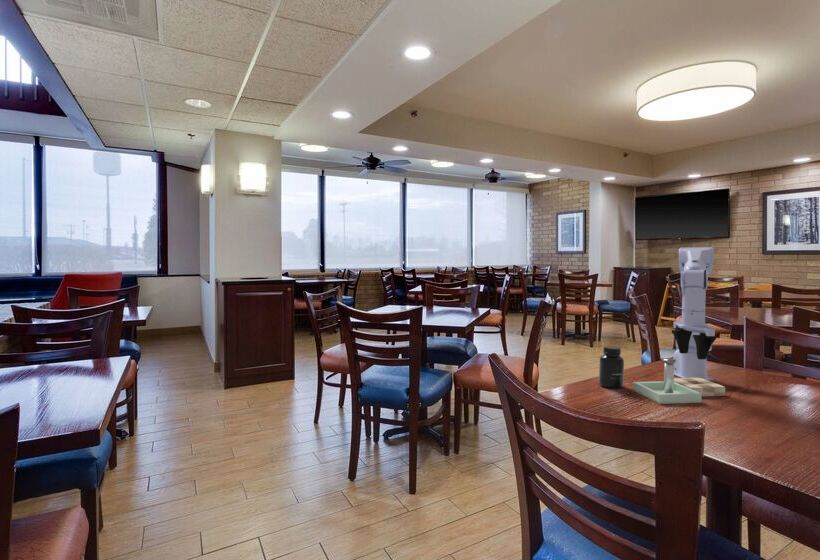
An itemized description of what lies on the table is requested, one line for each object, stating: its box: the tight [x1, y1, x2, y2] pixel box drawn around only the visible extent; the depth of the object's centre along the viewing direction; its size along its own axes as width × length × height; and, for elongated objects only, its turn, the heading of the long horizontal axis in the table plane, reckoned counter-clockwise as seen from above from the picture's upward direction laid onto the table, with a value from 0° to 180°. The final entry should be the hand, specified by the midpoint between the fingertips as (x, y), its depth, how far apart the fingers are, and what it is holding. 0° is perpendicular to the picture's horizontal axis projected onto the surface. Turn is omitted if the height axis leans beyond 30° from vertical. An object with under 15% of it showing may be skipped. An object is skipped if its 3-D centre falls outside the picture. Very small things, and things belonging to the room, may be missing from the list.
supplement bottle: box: [598, 345, 625, 389], centre depth 133 cm, size 7×7×12 cm
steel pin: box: [662, 357, 676, 393], centre depth 124 cm, size 3×3×10 cm
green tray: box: [632, 380, 703, 405], centre depth 122 cm, size 12×12×2 cm
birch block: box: [674, 377, 726, 397], centre depth 127 cm, size 10×10×2 cm
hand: (692, 356), depth 127 cm, fingers open, 7 cm apart
